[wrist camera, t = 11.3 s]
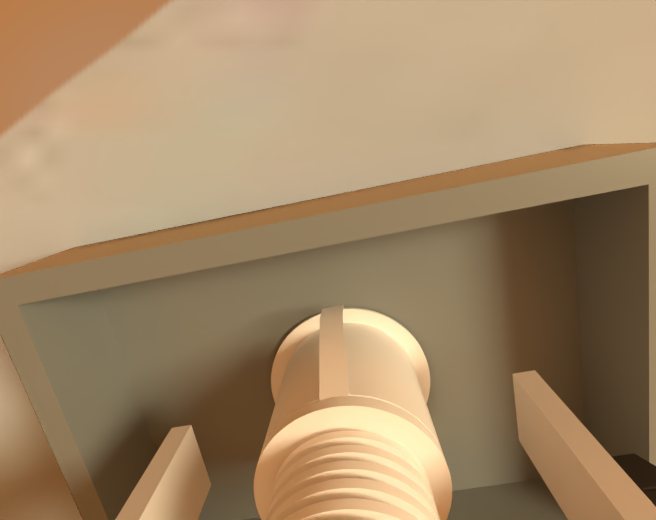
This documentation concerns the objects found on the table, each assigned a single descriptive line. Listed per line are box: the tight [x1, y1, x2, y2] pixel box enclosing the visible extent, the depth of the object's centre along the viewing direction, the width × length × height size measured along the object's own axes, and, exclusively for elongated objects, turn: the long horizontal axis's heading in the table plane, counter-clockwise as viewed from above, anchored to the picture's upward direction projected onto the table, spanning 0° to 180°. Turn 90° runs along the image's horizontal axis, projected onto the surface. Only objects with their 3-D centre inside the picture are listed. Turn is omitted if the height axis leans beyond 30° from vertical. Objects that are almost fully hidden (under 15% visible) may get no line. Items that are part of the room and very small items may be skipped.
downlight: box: [254, 305, 452, 520], centre depth 13 cm, size 8×7×10 cm
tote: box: [0, 143, 656, 520], centre depth 17 cm, size 22×16×5 cm
